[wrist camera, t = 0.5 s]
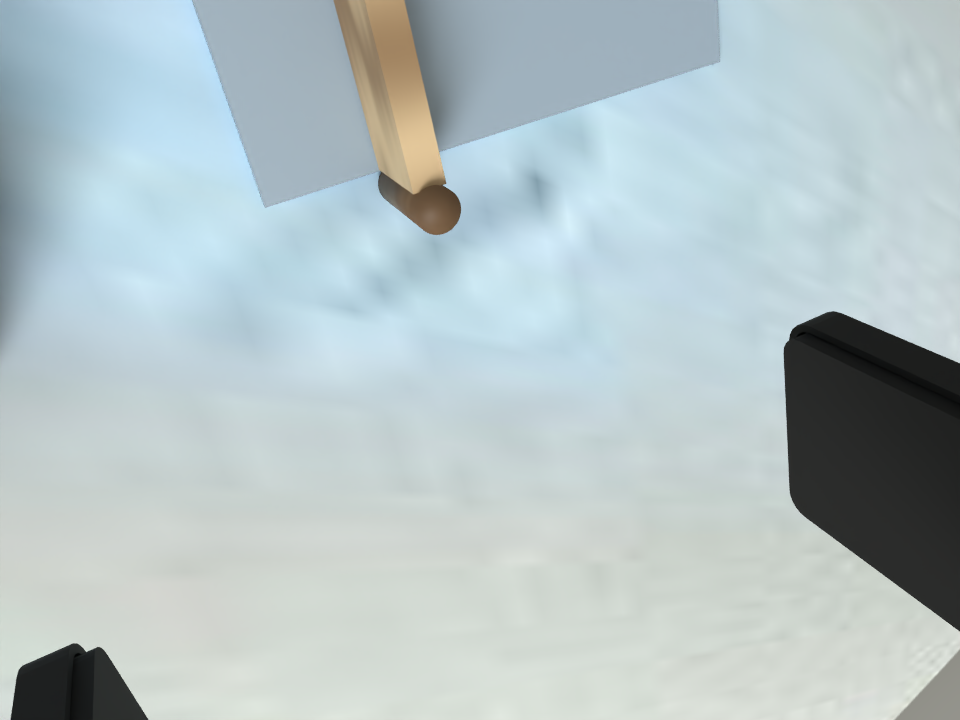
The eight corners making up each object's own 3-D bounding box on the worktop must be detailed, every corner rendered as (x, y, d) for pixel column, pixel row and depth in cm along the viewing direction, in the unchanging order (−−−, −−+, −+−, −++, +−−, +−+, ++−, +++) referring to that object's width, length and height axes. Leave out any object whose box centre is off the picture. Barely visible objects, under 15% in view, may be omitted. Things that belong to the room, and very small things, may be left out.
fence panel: (300, -100, 26) (333, -112, 22) (347, -111, 26) (387, -124, 23) (384, 209, 31) (422, 240, 27) (422, 196, 31) (465, 226, 28)
